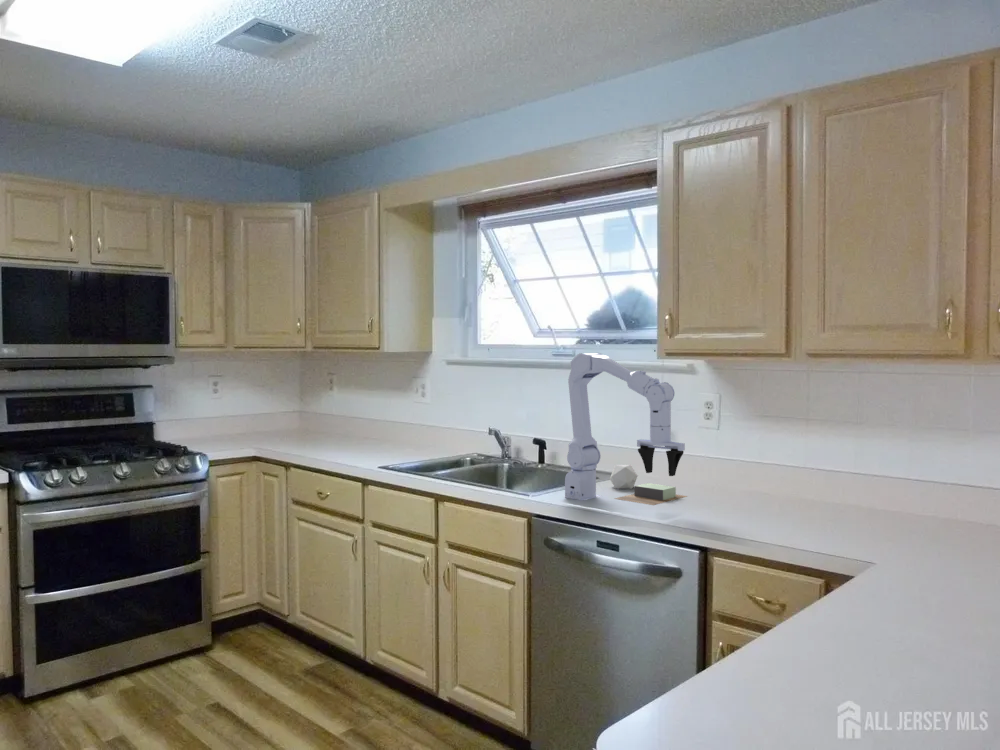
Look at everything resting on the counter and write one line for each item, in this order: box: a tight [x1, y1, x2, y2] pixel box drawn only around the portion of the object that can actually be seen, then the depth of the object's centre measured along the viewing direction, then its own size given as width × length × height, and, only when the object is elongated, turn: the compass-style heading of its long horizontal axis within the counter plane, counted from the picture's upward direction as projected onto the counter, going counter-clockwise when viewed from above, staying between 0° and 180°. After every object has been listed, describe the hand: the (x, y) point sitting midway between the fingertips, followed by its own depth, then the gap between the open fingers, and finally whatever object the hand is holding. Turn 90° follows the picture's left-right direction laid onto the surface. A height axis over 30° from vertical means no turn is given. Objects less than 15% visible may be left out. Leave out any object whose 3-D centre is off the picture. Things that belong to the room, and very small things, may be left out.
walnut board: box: [614, 493, 688, 506], centre depth 231 cm, size 18×14×1 cm
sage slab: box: [633, 482, 677, 500], centre depth 232 cm, size 3×10×7 cm
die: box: [609, 464, 639, 490], centre depth 248 cm, size 8×9×10 cm
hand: (660, 474), depth 216 cm, fingers open, 7 cm apart
